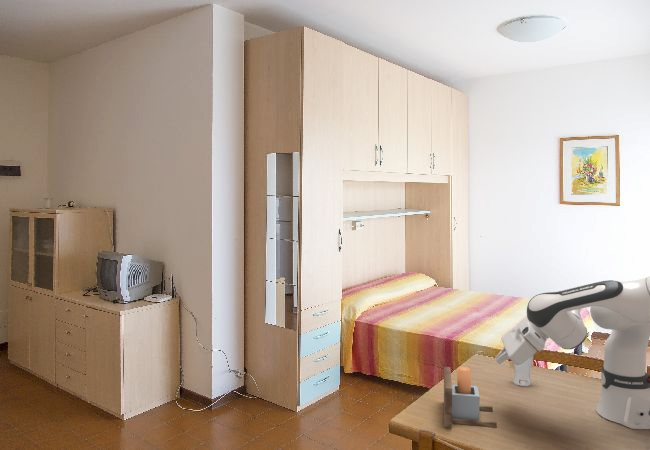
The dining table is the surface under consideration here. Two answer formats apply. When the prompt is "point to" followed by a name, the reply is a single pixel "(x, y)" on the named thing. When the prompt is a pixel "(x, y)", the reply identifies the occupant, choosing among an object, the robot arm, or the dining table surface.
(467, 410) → the socket block
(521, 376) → the beer glass
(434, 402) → the dining table surface
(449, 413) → the backstop wall
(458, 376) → the dowel
